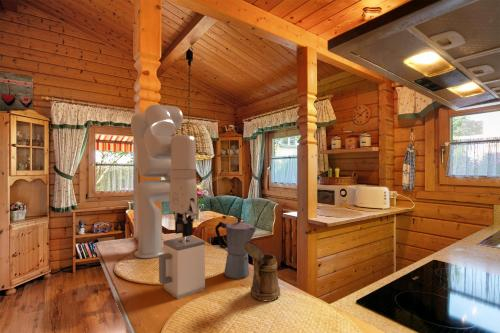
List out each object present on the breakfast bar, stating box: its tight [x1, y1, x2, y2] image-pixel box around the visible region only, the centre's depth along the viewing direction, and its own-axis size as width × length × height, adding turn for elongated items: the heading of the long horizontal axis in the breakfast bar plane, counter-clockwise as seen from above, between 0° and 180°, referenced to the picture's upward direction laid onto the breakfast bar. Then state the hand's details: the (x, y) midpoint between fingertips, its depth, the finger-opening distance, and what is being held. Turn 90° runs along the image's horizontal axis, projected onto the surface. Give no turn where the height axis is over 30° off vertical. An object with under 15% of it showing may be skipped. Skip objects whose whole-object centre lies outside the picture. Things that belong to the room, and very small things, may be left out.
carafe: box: [158, 235, 206, 300], centre depth 86 cm, size 9×12×15 cm
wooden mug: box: [244, 240, 281, 301], centre depth 82 cm, size 9×14×18 cm, turn 146°
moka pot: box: [214, 217, 258, 280], centre depth 98 cm, size 10×15×20 cm, turn 78°
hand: (183, 233), depth 87 cm, fingers closed on plunger, 4 cm apart
